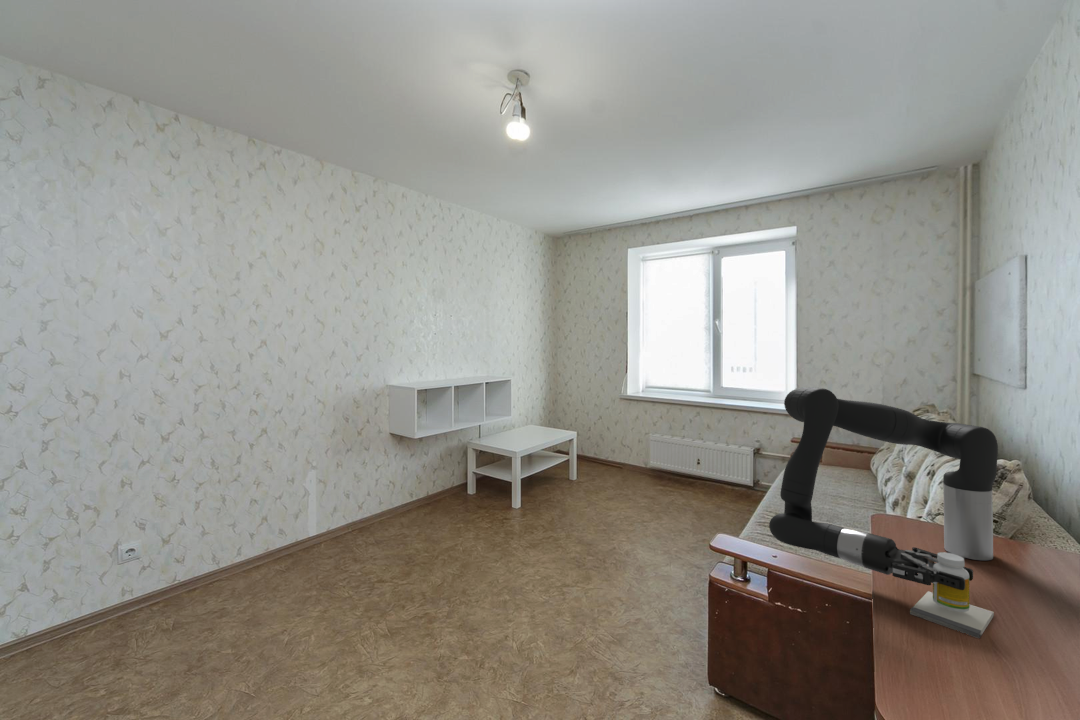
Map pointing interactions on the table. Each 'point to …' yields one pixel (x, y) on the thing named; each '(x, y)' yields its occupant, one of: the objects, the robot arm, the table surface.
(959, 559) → the supplement bottle
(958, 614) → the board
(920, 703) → the table surface
